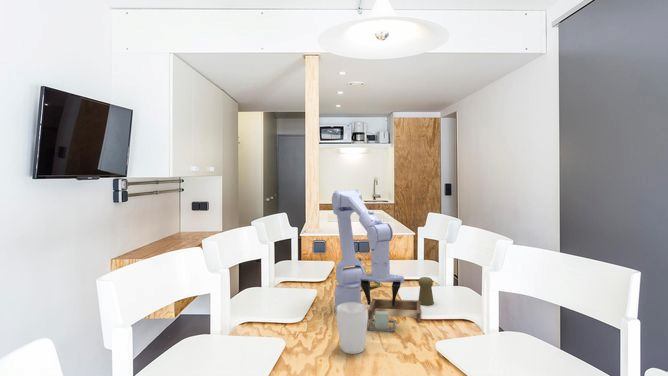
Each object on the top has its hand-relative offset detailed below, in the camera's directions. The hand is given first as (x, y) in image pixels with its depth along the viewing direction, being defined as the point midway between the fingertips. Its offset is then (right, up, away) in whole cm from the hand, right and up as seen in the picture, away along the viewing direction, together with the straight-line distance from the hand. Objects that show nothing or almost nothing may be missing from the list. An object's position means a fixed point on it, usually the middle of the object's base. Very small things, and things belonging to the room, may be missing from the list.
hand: (381, 304), depth 118 cm
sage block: (0, -8, 0) cm, 8 cm away
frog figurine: (-3, -7, +45) cm, 46 cm away
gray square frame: (0, -8, 0) cm, 8 cm away
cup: (-10, -9, -11) cm, 18 cm away
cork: (+19, -7, +20) cm, 29 cm away
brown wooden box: (+6, -8, +10) cm, 14 cm away
